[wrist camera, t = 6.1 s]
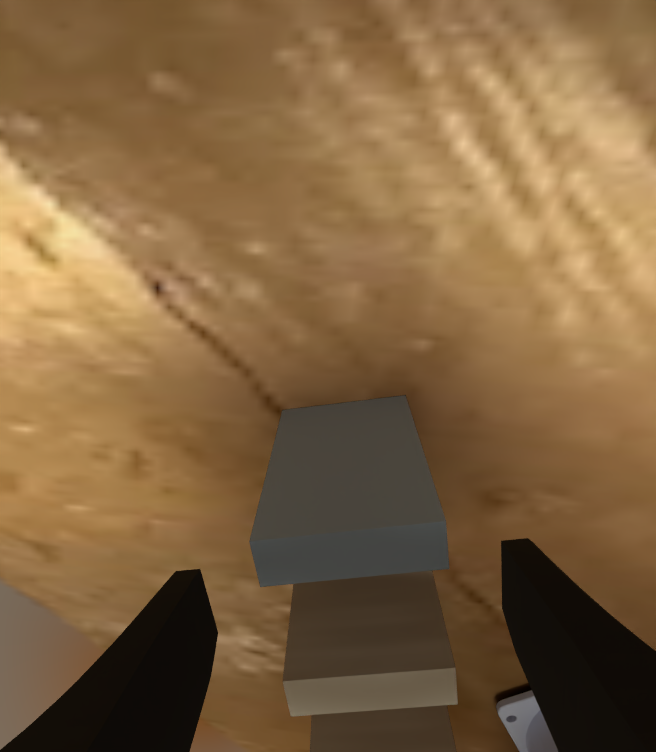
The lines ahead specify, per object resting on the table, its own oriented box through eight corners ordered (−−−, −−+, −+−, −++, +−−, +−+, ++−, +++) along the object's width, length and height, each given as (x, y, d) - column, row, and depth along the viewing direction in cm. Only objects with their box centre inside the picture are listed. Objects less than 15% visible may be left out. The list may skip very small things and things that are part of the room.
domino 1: (408, 428, 20) (449, 568, 13) (288, 442, 21) (260, 586, 13) (405, 395, 20) (446, 521, 12) (282, 409, 20) (249, 541, 13)
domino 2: (417, 529, 22) (457, 704, 15) (306, 539, 22) (290, 716, 15) (415, 500, 22) (455, 667, 14) (301, 512, 22) (282, 681, 14)
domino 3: (424, 614, 24) (464, 809, 16) (322, 622, 24) (314, 817, 17) (422, 589, 23) (462, 780, 16) (317, 599, 24) (307, 789, 16)
